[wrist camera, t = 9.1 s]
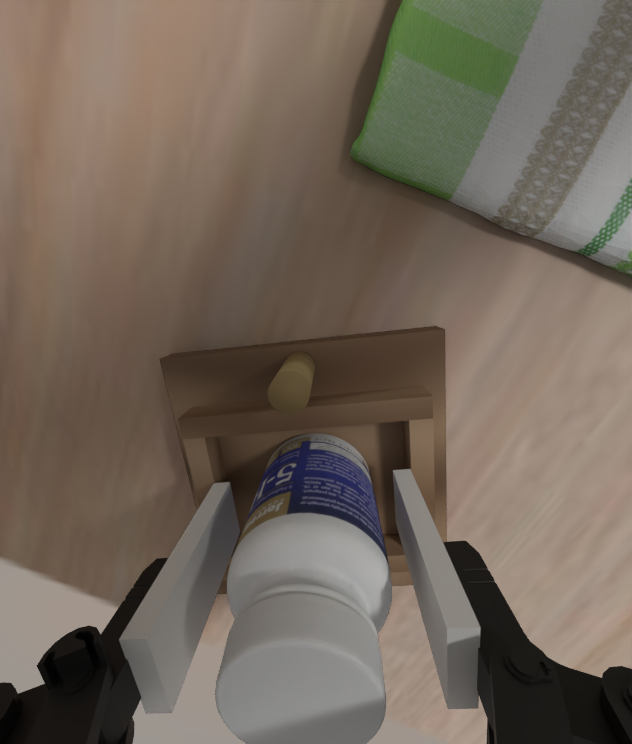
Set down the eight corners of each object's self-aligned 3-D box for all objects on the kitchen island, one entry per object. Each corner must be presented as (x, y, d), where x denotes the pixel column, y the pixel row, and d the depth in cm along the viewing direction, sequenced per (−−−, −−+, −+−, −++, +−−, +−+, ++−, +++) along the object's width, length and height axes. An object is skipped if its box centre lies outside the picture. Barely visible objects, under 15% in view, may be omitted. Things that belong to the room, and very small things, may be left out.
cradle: (172, 353, 16) (96, 384, 11) (435, 326, 15) (490, 345, 10) (224, 575, 19) (185, 677, 14) (439, 564, 18) (481, 670, 13)
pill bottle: (286, 414, 15) (226, 583, 6) (386, 453, 15) (461, 666, 6) (251, 502, 16) (161, 740, 8) (344, 536, 16) (359, 804, 8)
